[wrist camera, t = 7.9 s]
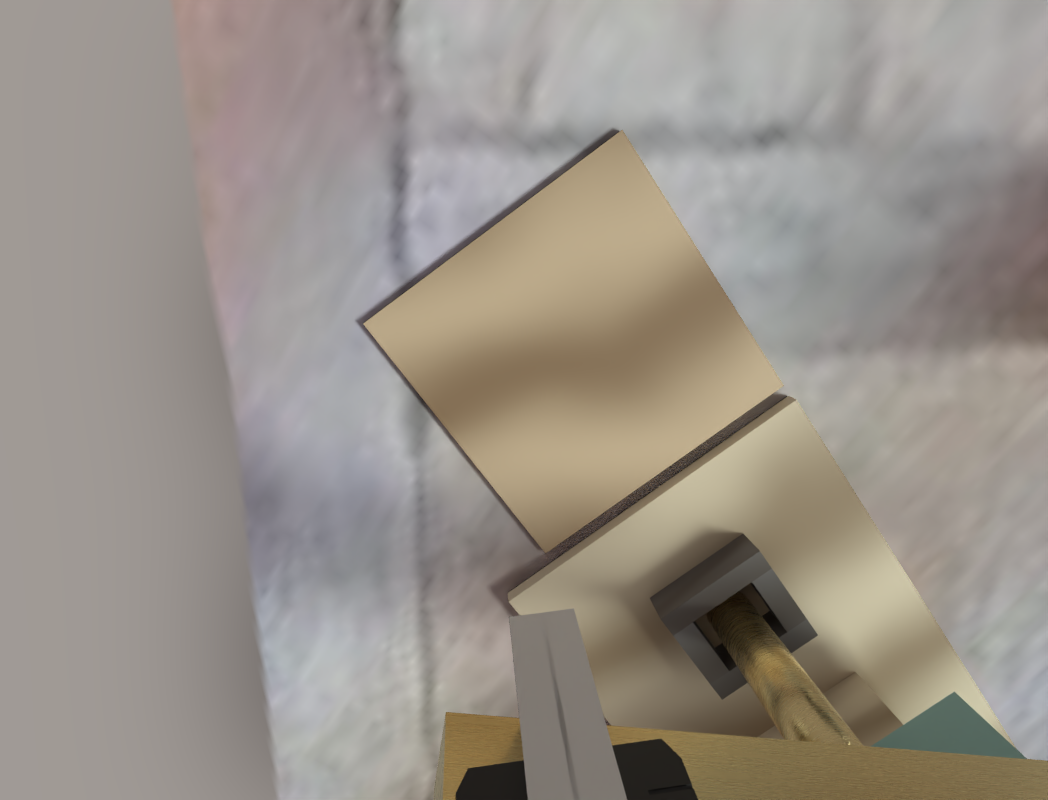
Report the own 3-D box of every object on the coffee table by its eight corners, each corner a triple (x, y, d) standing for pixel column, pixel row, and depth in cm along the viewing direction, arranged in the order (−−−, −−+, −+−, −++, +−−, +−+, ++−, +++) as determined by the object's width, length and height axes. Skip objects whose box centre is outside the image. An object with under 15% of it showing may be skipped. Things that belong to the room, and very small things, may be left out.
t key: (443, 607, 24) (427, 911, 13) (451, 553, 23) (441, 823, 12) (975, 660, 26) (1328, 953, 15) (991, 612, 25) (1366, 879, 15)
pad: (364, 323, 22) (362, 323, 22) (620, 130, 21) (622, 129, 21) (544, 550, 24) (545, 553, 24) (781, 384, 24) (784, 385, 23)
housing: (507, 593, 25) (514, 650, 21) (788, 395, 24) (842, 422, 20) (796, 942, 30) (839, 1033, 26) (1036, 788, 29) (1113, 862, 25)
